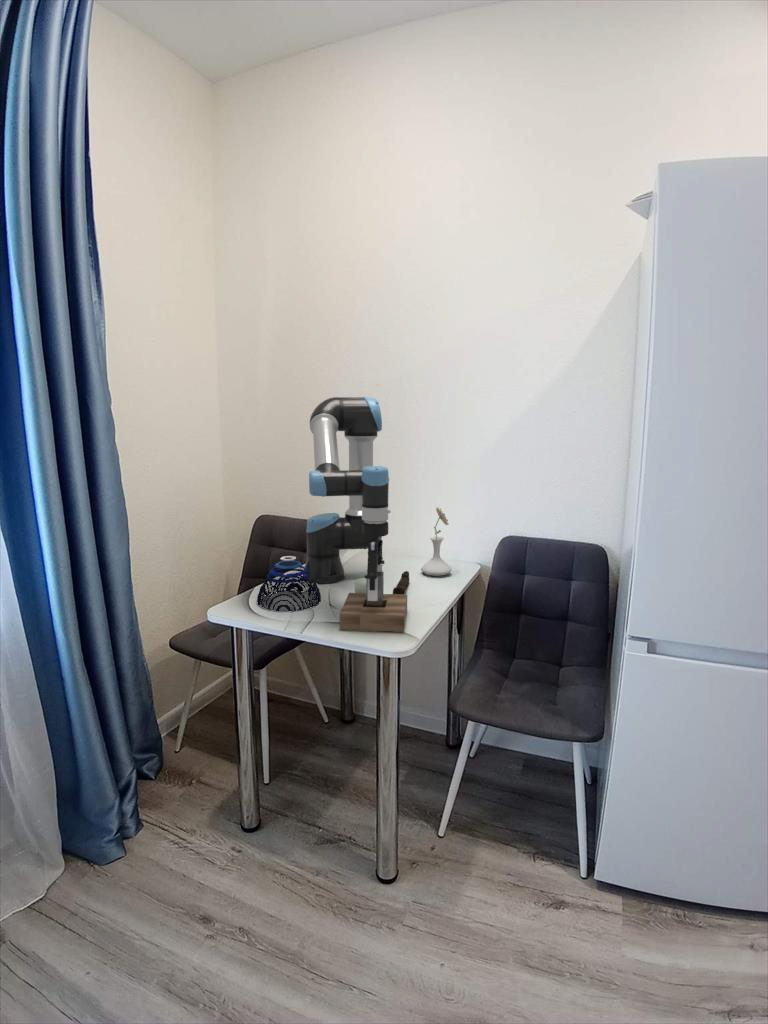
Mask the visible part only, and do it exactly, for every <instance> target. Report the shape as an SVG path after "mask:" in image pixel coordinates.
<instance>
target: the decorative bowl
mask: <svg viewBox="0 0 768 1024" xmlns="http://www.w3.org/2000/svg"><path fill="white" fill-rule="evenodd" d="M296 559H297V557H296V556H295V555H294V556H293V555H286V556H285V555H284V556H282V557H280V558H279V560H281V561H279V562H277V563H275V564H274V567H273V568H271V569H270V570H269V573H268V574H267V576H266V580H264V582H263V583H262V585H261V586H260V587H259V591H258V593H257V598H256V603H257V602H258V604H257V606H258V605H261V606H262V607H264V608H266V609H269V610H276V611H281V609H282V608H285V609H286V611H291V612H292V609H293V612H299V610H301V611H305V610H308V609H307V608H309V609H311V608H310V607H312V608H314V607H313V606H315V607H316V605H317V604H318V603H319V602H320V603H321V602H322V595H321V590H320V587H319V586H318V583H316V582H315V581H314V580H313V579H311V580H312V581H311V582H310V581H309V580H307V579H309V578H310V577H311V574H310V573H309V572H308V570H307V569H306V568H305V566H303V564H302V562H300V561H297V560H296ZM284 563H295V564H284ZM296 563H297V564H296ZM280 564H284V565H280ZM294 571H295V572H294ZM281 572H291V573H287V574H286V573H285V574H284V573H281ZM292 572H293V573H292ZM305 573H308V575H307V576H305V577H304V576H303V574H305ZM270 576H273V577H277V578H278V577H279V578H278V579H276V578H272V577H270ZM306 580H307V581H308V582H307V581H306ZM273 583H274V584H273ZM295 591H297V592H295ZM301 591H304V593H307V592H308V593H307V597H306V595H305V594H304V593H303V592H301ZM276 592H277V593H276ZM285 592H287V593H285ZM271 593H272V594H271ZM269 594H271V595H269ZM265 595H266V596H265ZM292 595H293V596H292ZM264 596H265V597H264ZM263 597H264V598H263ZM279 597H280V598H281V597H285V598H286V597H287V598H289V599H292V601H293V602H294V603H293V602H291V600H289V599H280V600H279V599H278V598H279ZM294 597H296V598H297V599H298V600H299V601H298V600H296V598H294ZM261 598H262V599H261ZM276 599H278V600H277V601H276V602H274V600H276ZM281 602H287V603H288V604H287V603H286V604H283V603H282V604H281ZM299 602H300V603H301V605H300V603H299ZM279 603H280V604H279ZM320 603H319V604H320ZM295 604H296V606H297V607H296V606H295ZM319 604H318V605H319ZM290 605H291V606H290ZM305 605H306V607H305ZM318 605H317V606H318ZM291 607H292V608H291ZM271 608H272V609H271ZM275 608H276V609H275ZM297 608H298V609H297ZM302 609H303V610H302ZM304 609H305V610H304ZM269 610H268V611H269ZM296 610H298V611H296ZM276 611H275V612H276Z"/></svg>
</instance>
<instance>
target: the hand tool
mask: <svg viewBox="0 0 768 1024" xmlns="http://www.w3.org/2000/svg"><path fill="white" fill-rule="evenodd" d="M409 586H410V572H409V570H406V571H403V572H402V573H401V577H400V579H399V581H398V582H397V585H396V586H395V587H393V589H392V594H405V595H406V591H407V588H408V587H409Z"/></svg>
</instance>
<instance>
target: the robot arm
mask: <svg viewBox="0 0 768 1024" xmlns="http://www.w3.org/2000/svg"><path fill="white" fill-rule="evenodd" d="M309 419H310V420H309V430H310V432H311V434H313V435H312V437H313V458H314V459H313V460H314V470H311V471H309V473H308V485H309V486H308V489H309V490H308V491H309V495H310V496H313V497H344V496H345V497H347V496H348V497H349V498H348V504H349V505H348V506H349V507H348V509H347V510H346V511H345V512H344V517H342V516H341V517H340V514H339V513H337V512H326V513H321V514H316V515H312V516H311V517H308V519H307V521H306V531H305V532H306V535H307V536H306V552H307V553H306V554H307V555H306V557H307V558H306V561H305V564H304V567H305V568H306V569H307V570H308V572H309V573H310V574H311V577H310V578H309V579H307V580H309V581H310V582H311V581H312V580H311V579H313V580H314V581H315V582H316V584H333V583H338V582H341V581H343V580H344V579H345V570H344V566H343V563H342V560H341V557H340V550H367V569H366V571H367V572H366V575H364V578H365V579H368V601H377V600H378V578H377V572H383V565H385V560H383V559H384V558H383V538H382V537H386V536H388V535H389V522H388V520H389V514H391V509H389V484H390V483H389V482H390V477H389V468H387V467H386V466H383V465H382V466H381V465H374V441H375V440H376V439H377V438H378V432H381V431H383V425H382V424H383V420H382V411H381V407H380V403H379V401H378V399H377V398H374V397H366V396H363V397H362V396H361V397H360V396H359V397H351V396H350V397H349V396H347V397H345V396H344V397H338V396H336V397H335V396H334V397H329V398H327V399H324V400H323V401H322V402H320V403H319V404H317V406H316V407H315V408H314V410H313V411H312V413H311V415H310V418H309ZM337 432H344V438H345V439H346V440H347V441H348V470H343V469H342V470H340V460H339V451H338V449H339V448H338V440H337V439H338V438H337V437H338V436H337ZM370 573H374V574H370ZM307 575H308V573H305V574H303V575H302V576H304V577H305V576H307ZM307 580H306V581H307ZM307 582H308V581H307Z"/></svg>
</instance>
